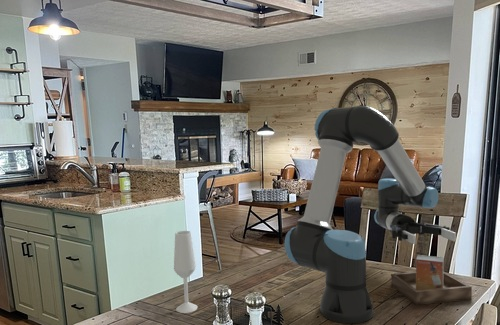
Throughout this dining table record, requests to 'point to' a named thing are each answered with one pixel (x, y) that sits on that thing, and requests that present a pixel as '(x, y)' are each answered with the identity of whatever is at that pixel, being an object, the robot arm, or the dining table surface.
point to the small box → (429, 272)
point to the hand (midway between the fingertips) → (434, 238)
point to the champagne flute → (184, 265)
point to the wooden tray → (448, 293)
